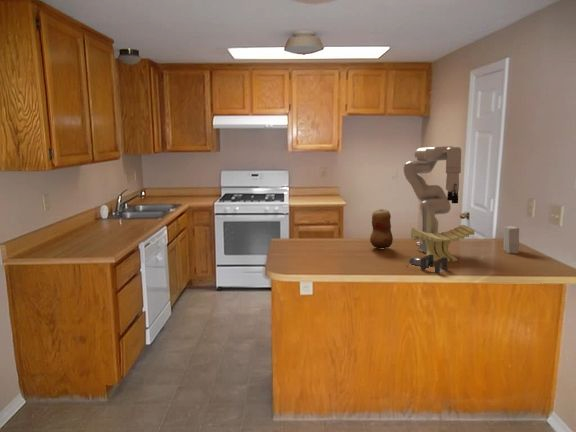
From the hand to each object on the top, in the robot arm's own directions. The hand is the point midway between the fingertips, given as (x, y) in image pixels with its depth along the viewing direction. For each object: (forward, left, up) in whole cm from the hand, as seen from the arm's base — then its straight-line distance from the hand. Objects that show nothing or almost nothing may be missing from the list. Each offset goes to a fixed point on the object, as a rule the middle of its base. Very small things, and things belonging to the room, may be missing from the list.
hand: (452, 201), depth 247 cm
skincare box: (+17, +39, -34) cm, 54 cm away
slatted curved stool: (-7, +2, -34) cm, 35 cm away
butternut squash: (-45, -2, -34) cm, 56 cm away
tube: (-7, -21, -33) cm, 40 cm away
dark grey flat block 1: (-3, -21, -33) cm, 39 cm away
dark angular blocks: (+5, -21, -33) cm, 39 cm away
